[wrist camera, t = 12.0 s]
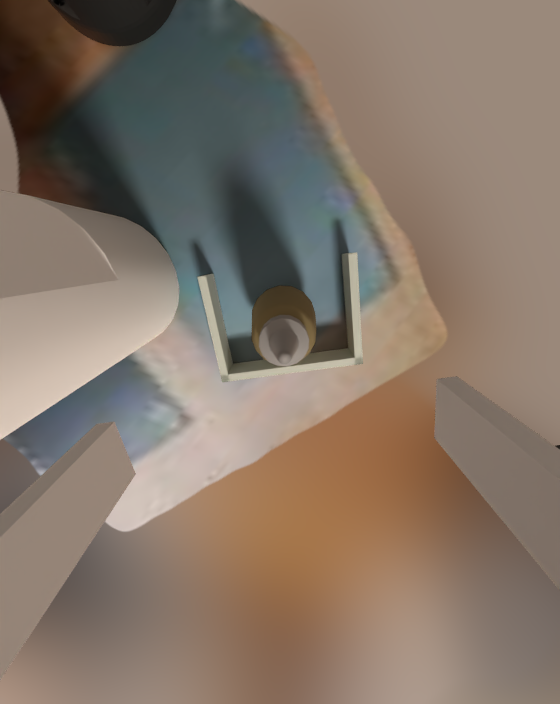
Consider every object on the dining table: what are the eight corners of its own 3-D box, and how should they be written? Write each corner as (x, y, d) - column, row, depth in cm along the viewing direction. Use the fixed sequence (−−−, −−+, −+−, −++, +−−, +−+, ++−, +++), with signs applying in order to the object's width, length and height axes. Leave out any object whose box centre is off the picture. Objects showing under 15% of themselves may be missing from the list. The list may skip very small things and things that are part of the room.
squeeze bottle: (277, 269, 37) (273, 283, 20) (324, 306, 39) (357, 347, 22) (242, 317, 39) (212, 366, 22) (288, 350, 41) (293, 419, 24)
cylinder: (195, 332, 40) (27, 485, 14) (83, 355, 41) (-271, 537, 15) (152, 199, 34) (-274, 17, 8) (24, 231, 36) (-709, 164, 9)
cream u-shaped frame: (206, 274, 37) (197, 276, 34) (349, 252, 36) (357, 252, 33) (227, 370, 42) (222, 382, 38) (355, 353, 41) (362, 363, 37)
